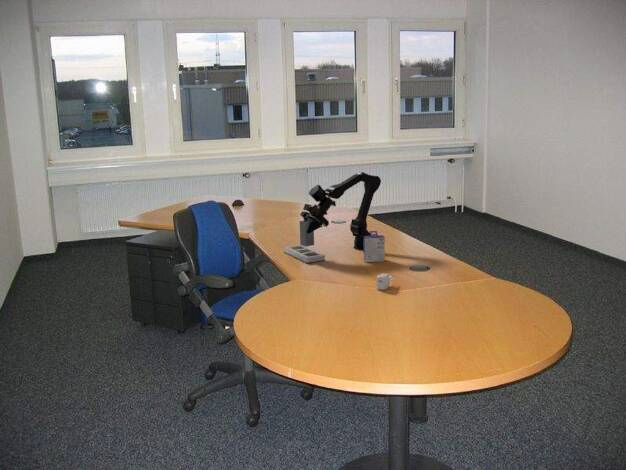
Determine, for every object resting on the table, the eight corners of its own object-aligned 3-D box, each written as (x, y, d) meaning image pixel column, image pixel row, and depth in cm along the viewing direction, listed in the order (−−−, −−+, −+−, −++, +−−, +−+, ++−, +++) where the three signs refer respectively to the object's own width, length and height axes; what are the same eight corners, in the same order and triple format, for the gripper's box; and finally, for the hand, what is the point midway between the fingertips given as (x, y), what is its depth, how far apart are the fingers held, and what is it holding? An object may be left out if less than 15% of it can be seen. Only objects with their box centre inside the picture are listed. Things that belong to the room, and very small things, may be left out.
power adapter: (385, 282, 262) (385, 269, 260) (395, 283, 259) (396, 270, 258) (374, 289, 252) (374, 275, 251) (385, 291, 250) (385, 277, 249)
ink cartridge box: (383, 258, 300) (383, 230, 297) (385, 261, 295) (385, 232, 292) (363, 259, 300) (363, 230, 297) (365, 262, 294) (365, 233, 291)
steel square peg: (308, 243, 307) (308, 219, 304) (314, 245, 303) (313, 221, 300) (300, 244, 304) (299, 221, 302) (305, 246, 300) (304, 222, 298)
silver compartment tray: (284, 252, 317) (284, 247, 316) (301, 250, 321) (301, 244, 321) (306, 263, 294) (306, 257, 294) (325, 261, 299) (324, 255, 298)
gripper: (302, 195, 308) (284, 219, 305) (323, 199, 293) (304, 225, 290) (316, 209, 314) (298, 232, 311) (336, 214, 299) (318, 239, 295)
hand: (304, 232), depth 301 cm, fingers closed on steel square peg, 5 cm apart
